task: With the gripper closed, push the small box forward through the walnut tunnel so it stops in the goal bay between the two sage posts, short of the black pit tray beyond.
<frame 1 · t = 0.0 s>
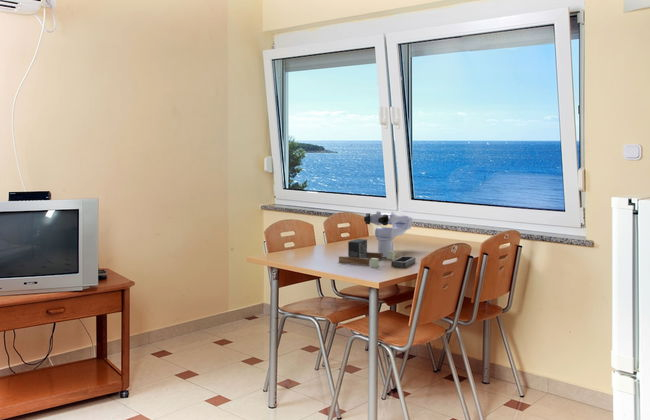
hand: (371, 219, 320), 22 cm above the table, tool horizontal, fingers open, 7 cm apart
small box: (357, 260, 327), on the table
black pit tray: (403, 264, 316), on the table
walnut tunnel rails: (361, 260, 326), on the table
sage goal posts: (382, 262, 320), on the table
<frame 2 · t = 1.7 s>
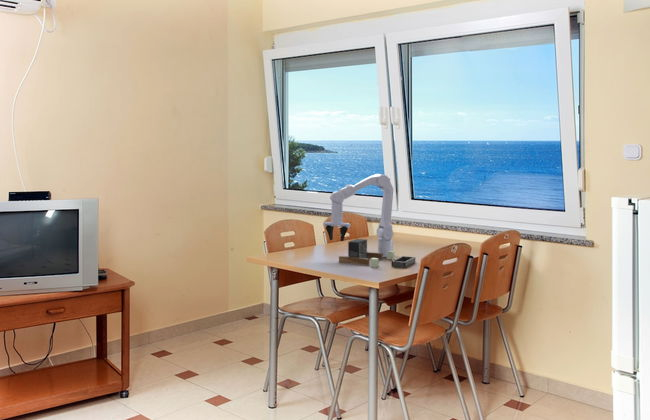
hand: (336, 240, 331), 9 cm above the table, tool pointing down, fingers open, 6 cm apart
nothing on the table moved.
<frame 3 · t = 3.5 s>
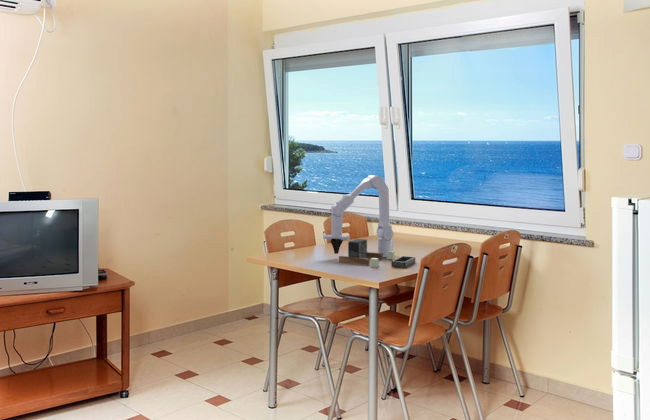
hand: (336, 253, 331), 3 cm above the table, tool pointing down, fingers closed
nothing on the table moved.
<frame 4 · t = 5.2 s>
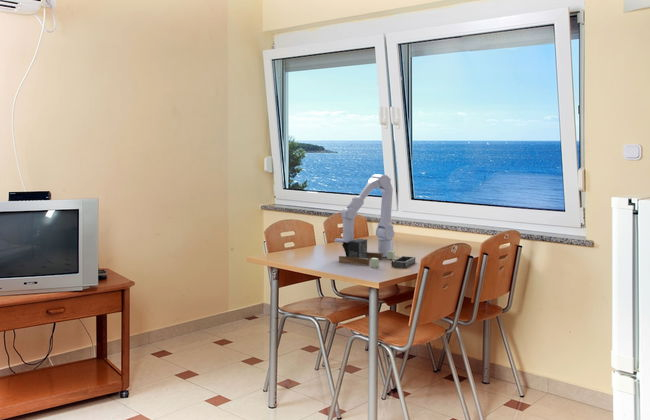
hand: (347, 257, 329), 1 cm above the table, tool pointing down, fingers closed
small box: (357, 260, 326), on the table, touching gripper
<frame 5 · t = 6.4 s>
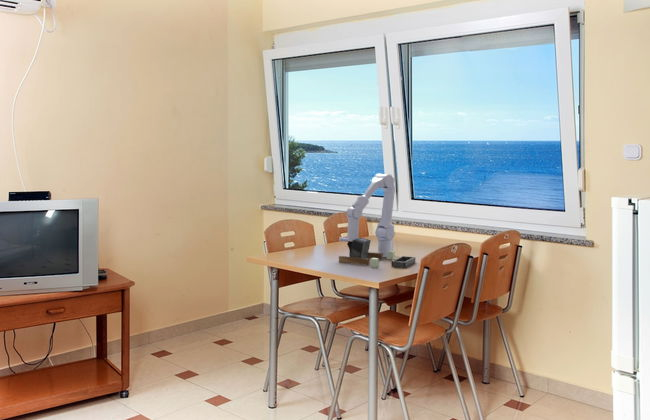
hand: (351, 256, 327), 2 cm above the table, tool pointing down, fingers closed, pressing on small box
small box: (357, 259, 326), on the table, touching gripper
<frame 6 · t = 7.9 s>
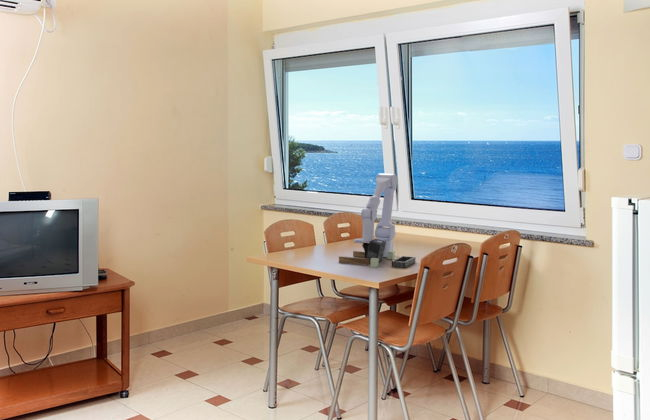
hand: (367, 258, 323), 2 cm above the table, tool pointing down, fingers closed, pressing on small box
small box: (373, 261, 322), on the table, touching gripper
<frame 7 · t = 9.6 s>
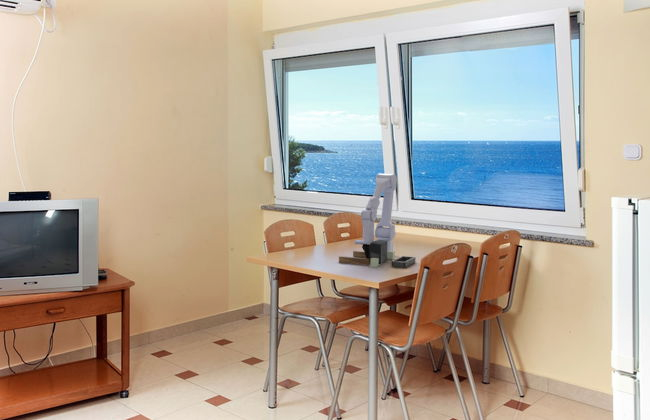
hand: (368, 259, 324), 1 cm above the table, tool pointing down, fingers closed
small box: (377, 262, 321), on the table, touching gripper
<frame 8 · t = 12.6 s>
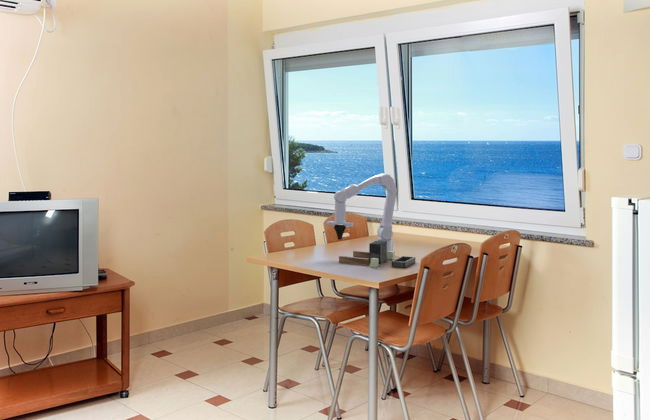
hand: (339, 239, 334), 9 cm above the table, tool pointing down, fingers closed
small box: (377, 262, 321), on the table
at the end: small box inside the target area (2.7 cm from its centre), on the table; small box touching table; small box tilted 0° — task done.
